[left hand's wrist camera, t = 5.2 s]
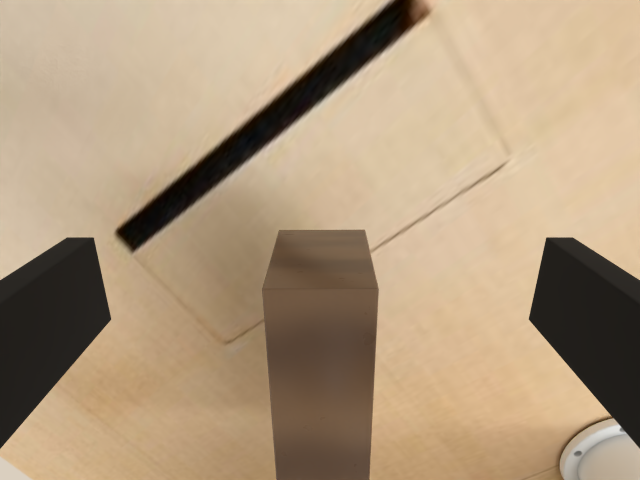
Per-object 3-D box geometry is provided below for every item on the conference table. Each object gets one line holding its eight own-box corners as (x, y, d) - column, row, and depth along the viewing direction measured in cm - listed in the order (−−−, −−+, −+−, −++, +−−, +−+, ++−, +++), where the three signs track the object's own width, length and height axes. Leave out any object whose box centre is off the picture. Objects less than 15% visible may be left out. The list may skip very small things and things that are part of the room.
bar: (278, 229, 27) (261, 289, 20) (365, 229, 27) (379, 288, 20) (292, 485, 37) (284, 587, 30) (356, 485, 37) (364, 587, 30)
